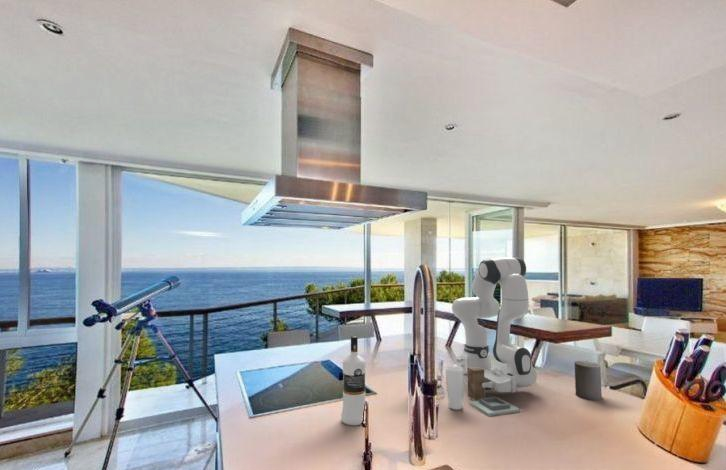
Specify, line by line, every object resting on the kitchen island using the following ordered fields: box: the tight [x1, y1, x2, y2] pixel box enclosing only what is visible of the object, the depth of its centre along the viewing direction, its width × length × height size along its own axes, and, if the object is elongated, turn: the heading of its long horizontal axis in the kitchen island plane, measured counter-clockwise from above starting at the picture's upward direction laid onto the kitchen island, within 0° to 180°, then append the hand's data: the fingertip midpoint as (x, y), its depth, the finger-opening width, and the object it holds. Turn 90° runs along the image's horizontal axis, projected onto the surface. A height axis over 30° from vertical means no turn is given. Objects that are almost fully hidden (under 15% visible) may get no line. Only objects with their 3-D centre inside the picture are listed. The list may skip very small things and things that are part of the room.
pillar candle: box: [574, 360, 603, 401], centre depth 156 cm, size 10×10×15 cm
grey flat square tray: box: [469, 396, 521, 417], centre depth 143 cm, size 12×14×2 cm
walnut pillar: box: [466, 367, 486, 401], centre depth 155 cm, size 5×5×12 cm
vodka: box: [340, 335, 366, 427], centre depth 132 cm, size 9×9×30 cm
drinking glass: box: [445, 365, 465, 411], centre depth 144 cm, size 7×7×15 cm
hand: (474, 381), depth 155 cm, fingers open, 8 cm apart
